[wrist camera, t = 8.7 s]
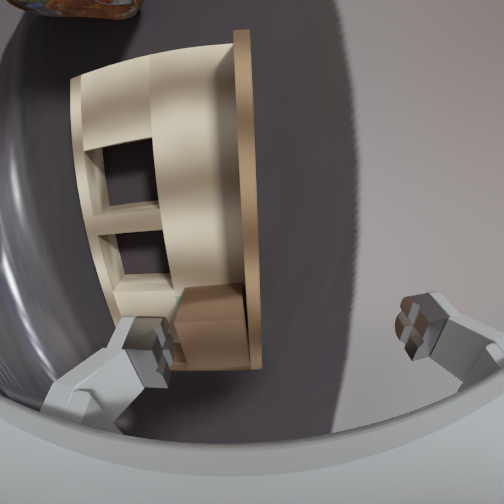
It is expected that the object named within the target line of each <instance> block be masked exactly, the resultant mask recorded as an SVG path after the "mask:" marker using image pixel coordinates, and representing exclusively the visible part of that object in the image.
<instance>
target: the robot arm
mask: <svg viewBox="0 0 504 504" xmlns="http://www.w3.org/2000/svg"><path fill="white" fill-rule="evenodd" d="M400 307H401V310H402V311H401V312H400V313H399V314H398V316H397V318H396V321H395V331H396V335H397V337H398V339H399V340H400V341H402V342H403V343H405V350H406V352H407V353H408V355H409V357H410V358H411V360H412V361H414V360H418V359H422V358H426V357H429V356H430V358H431V359H433V360H434V361H435V362H437V363H438V364H439V365H441V366H442V367H443V368H445V369H446V370H447V371H449V372H450V373H452V374H453V375H454V376H456V377H457V378H458V379H460V380H461V381H462V382H463V384H462V385H461V386H460V388H459V389H458V391H457V393H455V394H453V395H451V396H449V397H446V398H444V399H442V400H439V401H437V402H435V403H432V404H430V405H427V406H425V407H422V408H420V409H417V410H415V411H411V412H409V413H406V414H403V415H400V416H397V417H394V418H390V419H387V420H384V421H381V422H377V423H373V424H370V425H366V426H362V427H358V428H354V429H350V430H345V431H341V432H336V433H331V434H325V435H320V436H314V437H307V438H300V439H293V440H284V441H274V442H261V443H242V444H203V443H184V442H171V441H161V440H153V439H145V438H138V437H132V436H126V435H123V434H122V432H121V431H120V430H119V429H118V428H117V427H116V426H115V424H114V423H113V422H114V421H115V420H116V419H117V417H118V416H119V415H120V414H121V413H122V412H123V411H124V410H125V409H126V408H127V407H128V406H129V405H130V403H131V402H132V401H133V400H134V399H135V398H136V397H137V396H138V395H139V394H140V393H141V392H142V390H143V389H144V387H151V388H168V386H169V382H170V377H171V370H170V368H169V366H170V365H171V364H173V363H174V357H175V345H174V340H173V337H172V335H170V334H169V333H168V329H169V324H168V321H167V318H166V317H161V316H123V317H121V319H120V321H119V323H118V325H117V327H116V329H115V331H114V333H113V335H112V337H111V339H110V341H109V344H108V346H107V348H102V349H100V350H99V351H97V352H96V353H95V354H93V355H92V356H90V357H89V358H88V359H86V360H85V361H83V362H82V363H80V364H79V365H78V366H76V367H75V368H73V369H72V370H71V371H69V372H68V373H66V374H65V375H64V376H62V377H61V378H59V379H58V380H56V381H55V382H54V383H53V384H52V386H51V388H50V390H49V392H48V394H47V396H46V399H45V401H44V403H43V405H42V407H41V409H40V412H38V411H36V410H33V409H31V408H28V407H26V406H23V405H21V404H19V403H16V402H14V401H12V400H10V399H7V398H5V397H3V396H1V395H0V504H504V334H503V333H501V332H499V331H497V330H495V329H493V328H491V327H489V326H487V325H485V324H483V323H480V322H478V321H476V320H474V319H472V318H470V317H467V316H465V315H463V314H462V315H460V314H459V313H458V312H457V311H456V310H455V309H454V308H453V306H452V305H451V304H450V303H449V302H448V301H447V300H446V299H445V298H444V297H443V296H442V295H441V294H440V292H437V291H432V292H427V293H425V294H419V295H413V296H407V297H404V299H403V300H402V302H401V305H400Z"/></svg>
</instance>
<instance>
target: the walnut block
mask: <svg viewBox="0 0 504 504" xmlns="http://www.w3.org/2000/svg"><path fill="white" fill-rule="evenodd" d="M174 325H175V328H176V331H177V334H178V337H179V340H180V343H181V346H182V349H183V352H184V355H185V358H186V361H187V363H188V366H189V369H206V368H227V367H242V366H250V361H249V342H248V325H247V317H246V309H245V301H244V293H243V285H242V283H231V284H220V285H209V286H196V287H185V289H184V292H183V295H182V299H181V302H180V305H179V308H178V312H177V315H176V318H175V322H174Z"/></svg>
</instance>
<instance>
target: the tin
mask: <svg viewBox="0 0 504 504" xmlns="http://www.w3.org/2000/svg"><path fill="white" fill-rule="evenodd" d="M7 1H8V2H9V3H10V4H12V5H14V6H15V7H18V8H20V9H22V10H25V11H29V12H32V13H36V14H40V15H45V16H52V17H90V18H103V19H114V20H121V19H128V18H131V17H133V16H135V15H136V14H137V12H138V9H139V7H140V6H141V5H142V3H143V2H144V1H145V0H7Z"/></svg>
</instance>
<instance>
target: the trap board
mask: <svg viewBox="0 0 504 504" xmlns="http://www.w3.org/2000/svg"><path fill="white" fill-rule="evenodd" d="M233 38H234V44H220V45H209V46H200V47H192V48H185V49H178V50H172V51H167V52H161V53H156V54H152V55H147V56H143V57H138V58H134V59H130V60H127V61H123V62H119V63H116V64H112V65H109V66H106V67H103V68H100V69H97V70H94V71H91V72H88V73H85V74H83V75H80V76H77V77H75V78H72V79H71V81H70V109H71V131H72V144H73V155H74V163H75V171H76V179H77V185H78V192H79V197H80V203H81V208H82V213H83V218H84V223H85V228H86V232H87V236H88V240H89V244H90V248H91V252H92V256H93V260H94V263H95V267H96V270H97V274H98V277H99V280H100V283H101V287H102V290H103V293H104V296H105V299H106V302H107V304H108V307H109V310H110V313H111V316H112V318H113V321H114V324H115V326H116V327H117V325H118V323H119V321H120V319H121V317H123V316H161V317H166V318H167V321H168V324H169V329H168V333H169V334H170V335H172V337H173V340H174V345H175V357H174V363H173V364H171V365H170V366H169V368H170V370H179V371H226V370H251V369H262V349H261V313H260V280H259V249H258V219H257V192H256V165H255V140H254V116H253V93H252V71H251V50H250V30H233ZM151 138H152V141H153V153H154V164H155V174H156V183H157V191H158V199H159V200H156V201H147V202H138V203H130V204H122V205H114V206H110V204H109V198H108V191H107V185H106V177H105V170H104V161H103V152H102V148H104V147H109V146H113V145H118V144H123V143H128V142H134V141H139V140H145V139H151ZM153 230H163V234H164V240H165V246H166V252H167V257H168V263H169V268H170V273H156V274H128V275H125V273H124V269H123V265H122V261H121V257H120V253H119V249H118V244H117V240H116V235H115V234H118V233H129V232H141V231H153ZM231 283H242V285H243V293H244V301H245V309H246V317H247V325H248V342H249V361H250V366H242V367H227V368H206V369H189V366H188V363H187V361H186V358H185V355H184V352H183V349H182V346H181V343H180V340H179V337H178V334H177V331H176V328H175V325H174V322H175V318H176V315H177V312H178V308H179V305H180V302H181V299H182V295H183V292H184V289H185V287H196V286H209V285H220V284H231Z"/></svg>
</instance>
